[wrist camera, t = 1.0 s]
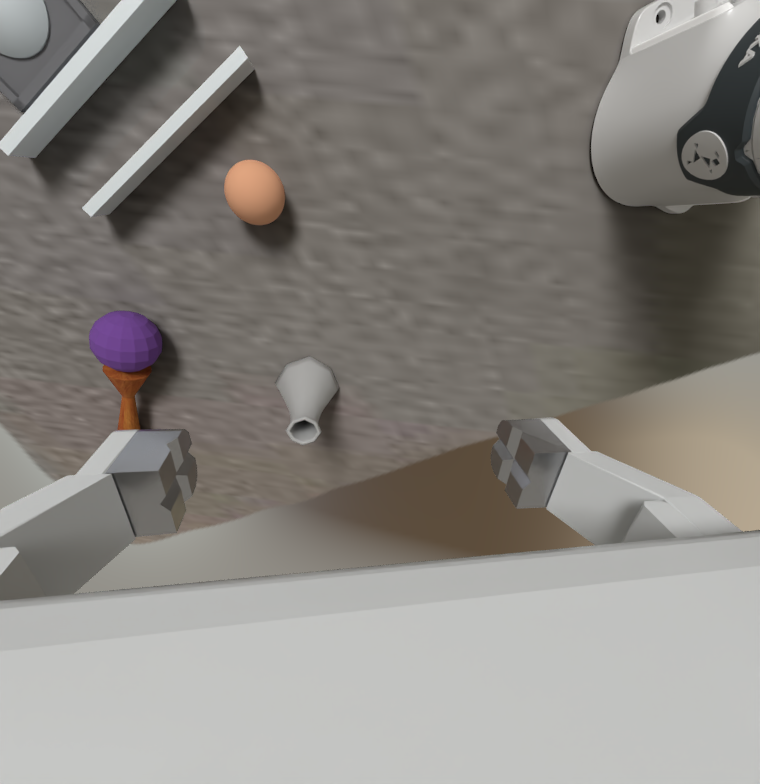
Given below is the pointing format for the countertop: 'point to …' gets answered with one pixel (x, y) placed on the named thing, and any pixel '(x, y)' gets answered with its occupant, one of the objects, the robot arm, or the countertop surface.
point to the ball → (254, 192)
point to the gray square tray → (39, 44)
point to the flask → (306, 396)
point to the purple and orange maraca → (126, 356)
